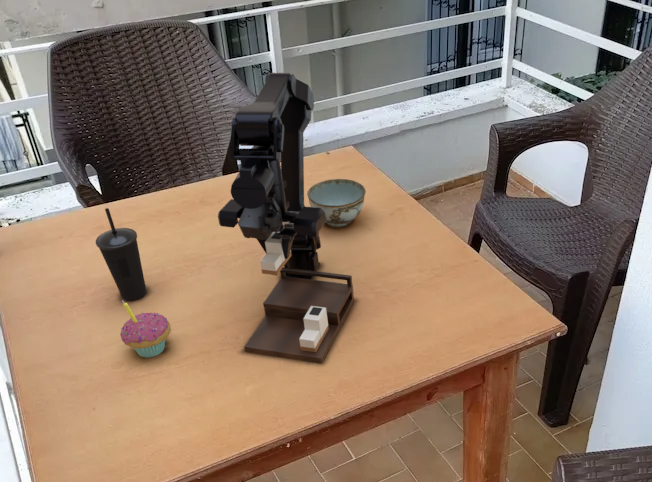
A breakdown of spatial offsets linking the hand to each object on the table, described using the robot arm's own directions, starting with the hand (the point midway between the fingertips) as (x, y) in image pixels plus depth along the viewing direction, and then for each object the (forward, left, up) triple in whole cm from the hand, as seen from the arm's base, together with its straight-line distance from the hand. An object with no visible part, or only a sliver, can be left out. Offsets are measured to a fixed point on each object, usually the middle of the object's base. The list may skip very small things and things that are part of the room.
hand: (278, 256), depth 129 cm
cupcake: (-21, -16, -13) cm, 29 cm away
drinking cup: (-34, -1, -13) cm, 36 cm away
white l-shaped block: (0, -1, -1) cm, 1 cm away
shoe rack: (+4, -3, -13) cm, 14 cm away
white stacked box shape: (+9, -8, -12) cm, 17 cm away
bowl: (-2, +36, -13) cm, 38 cm away
